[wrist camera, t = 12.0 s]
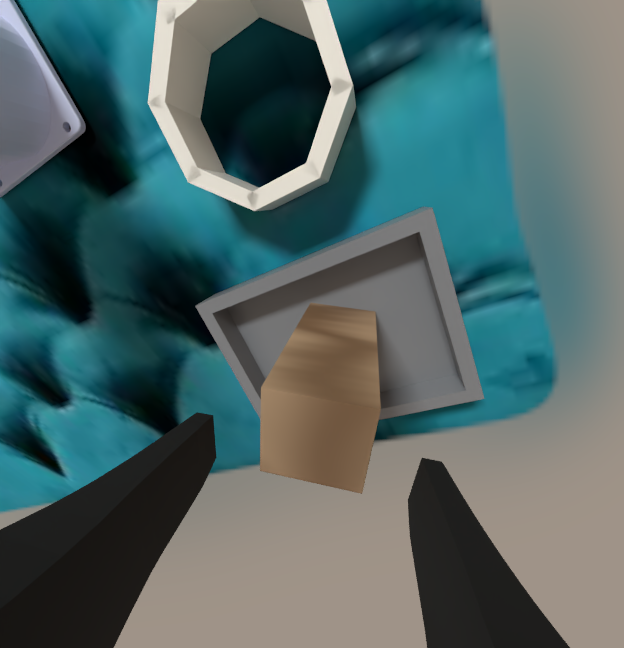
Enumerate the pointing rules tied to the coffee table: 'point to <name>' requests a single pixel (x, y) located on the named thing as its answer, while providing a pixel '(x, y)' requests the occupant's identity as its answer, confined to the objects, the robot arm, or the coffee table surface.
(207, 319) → the tray
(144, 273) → the coffee table surface
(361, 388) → the walnut peg
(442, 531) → the robot arm
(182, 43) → the white octagonal ring
